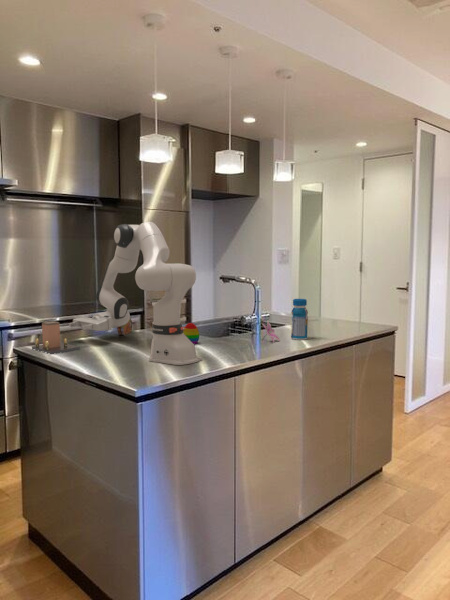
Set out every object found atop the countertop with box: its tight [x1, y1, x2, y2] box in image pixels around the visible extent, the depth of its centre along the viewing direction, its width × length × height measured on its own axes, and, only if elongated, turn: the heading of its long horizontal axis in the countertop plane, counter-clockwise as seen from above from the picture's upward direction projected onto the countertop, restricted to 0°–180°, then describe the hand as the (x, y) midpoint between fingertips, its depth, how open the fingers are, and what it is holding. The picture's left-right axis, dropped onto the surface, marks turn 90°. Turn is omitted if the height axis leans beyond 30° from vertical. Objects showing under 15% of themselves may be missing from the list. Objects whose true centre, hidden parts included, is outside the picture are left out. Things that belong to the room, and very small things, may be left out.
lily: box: [261, 319, 281, 343], centre depth 236 cm, size 12×12×10 cm
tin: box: [116, 318, 133, 336], centre depth 259 cm, size 15×3×8 cm, turn 168°
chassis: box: [31, 337, 81, 355], centre depth 218 cm, size 17×14×5 cm
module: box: [41, 320, 61, 348], centre depth 218 cm, size 6×6×11 cm
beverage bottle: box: [290, 298, 309, 341], centre depth 242 cm, size 8×8×20 cm
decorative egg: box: [183, 322, 200, 345], centre depth 231 cm, size 8×8×10 cm
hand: (76, 326), depth 226 cm, fingers open, 8 cm apart
